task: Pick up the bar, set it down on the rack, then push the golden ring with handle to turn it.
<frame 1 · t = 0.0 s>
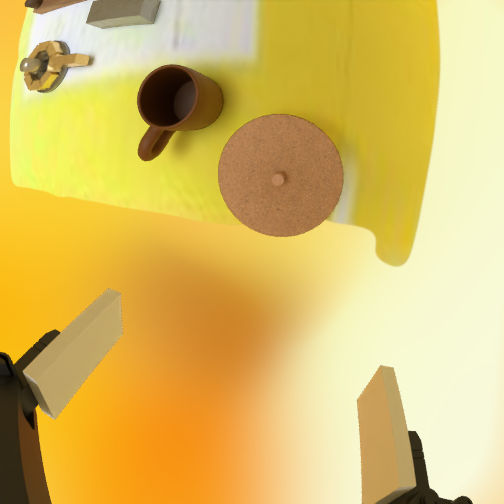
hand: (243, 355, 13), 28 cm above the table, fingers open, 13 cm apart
mug: (189, 117, 36), on the table
lidded bowl: (285, 166, 37), on the table
golden ring with handle: (51, 63, 32), point 3 cm above the table, hinge at 0.0°
nut station: (51, 66, 35), on the table
bar: (130, 15, 31), on the table
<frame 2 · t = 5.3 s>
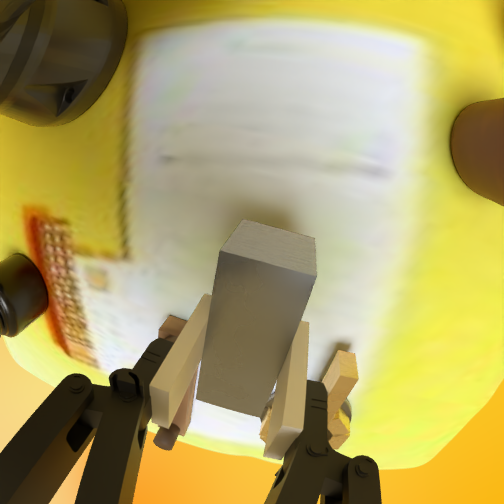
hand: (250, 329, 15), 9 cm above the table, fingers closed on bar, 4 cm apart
rack: (180, 378, 30), on the table
ink bottle: (29, 283, 31), on the table
mug: (499, 166, 17), on the table
golden ring with handle: (315, 417, 25), point 3 cm above the table, hinge at 0.0°
bar: (258, 304, 18), point 6 cm above the table, touching gripper
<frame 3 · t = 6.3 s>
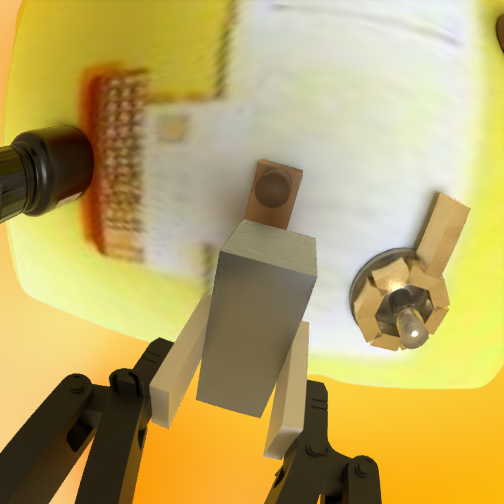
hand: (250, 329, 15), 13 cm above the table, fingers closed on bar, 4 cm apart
rack: (258, 253, 28), on the table
ink bottle: (68, 162, 28), on the table
golden ring with handle: (419, 280, 23), point 3 cm above the table, hinge at 0.0°
nut station: (397, 294, 27), on the table
bar: (258, 304, 18), point 10 cm above the table, touching gripper
when the fingers open (6 cm above the table, at t = 7.8 s): bar stays where it is, resting on rack.
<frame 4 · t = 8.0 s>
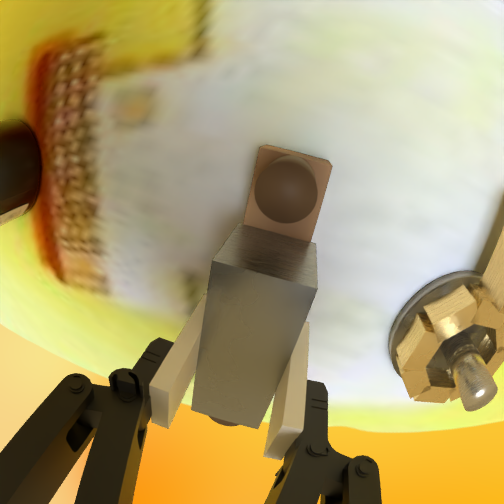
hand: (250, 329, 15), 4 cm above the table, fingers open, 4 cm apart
rack: (263, 284, 19), on the table
ink bottle: (17, 166, 19), on the table
golden ring with handle: (486, 317, 14), point 3 cm above the table, hinge at 0.0°
nut station: (449, 330, 18), on the table
bar: (256, 312, 17), point 2 cm above the table, touching gripper, rack
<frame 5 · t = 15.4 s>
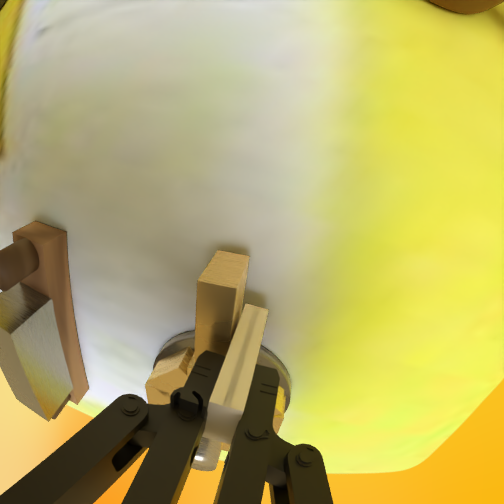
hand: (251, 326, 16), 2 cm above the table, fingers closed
rack: (60, 319, 21), on the table
golden ring with handle: (214, 383, 16), point 3 cm above the table, hinge at 5.2°, touching gripper
nut station: (221, 383, 20), on the table
bar: (45, 339, 19), point 2 cm above the table, touching rack
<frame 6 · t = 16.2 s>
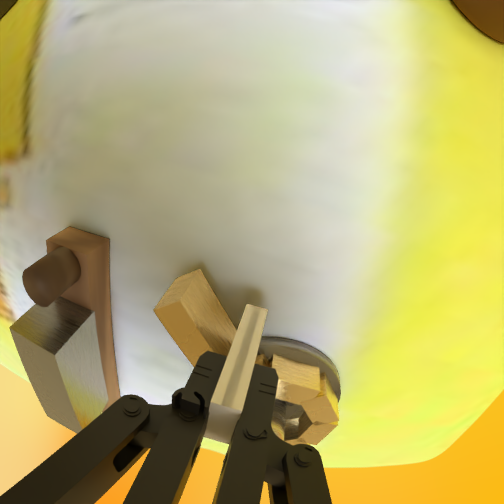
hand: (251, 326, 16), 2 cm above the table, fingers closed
rack: (94, 329, 21), on the table
golden ring with handle: (246, 389, 17), point 3 cm above the table, hinge at 38.8°, touching gripper
nut station: (271, 387, 20), on the table
bar: (80, 353, 19), point 2 cm above the table, touching rack
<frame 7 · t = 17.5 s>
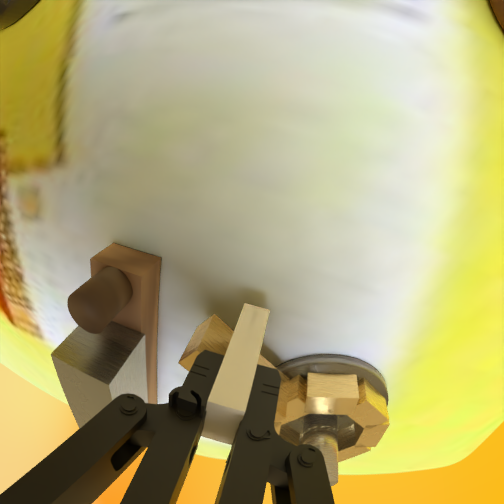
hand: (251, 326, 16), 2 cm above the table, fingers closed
rack: (136, 349, 21), on the table
golden ring with handle: (290, 411, 17), point 3 cm above the table, hinge at 56.6°, touching gripper
nut station: (320, 401, 20), on the table
bar: (122, 374, 19), point 2 cm above the table, touching rack
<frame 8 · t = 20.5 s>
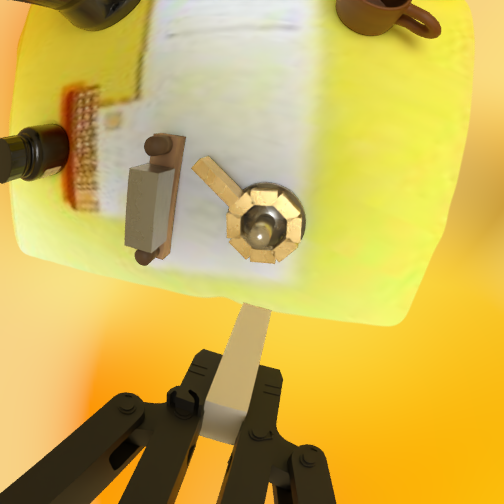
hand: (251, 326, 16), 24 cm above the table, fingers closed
rack: (165, 195, 40), on the table
ink bottle: (54, 148, 40), on the table
mug: (379, 22, 26), on the table
golden ring with handle: (245, 207, 36), point 3 cm above the table, hinge at 56.7°
nut station: (266, 220, 39), on the table
bar: (156, 202, 38), point 2 cm above the table, touching rack
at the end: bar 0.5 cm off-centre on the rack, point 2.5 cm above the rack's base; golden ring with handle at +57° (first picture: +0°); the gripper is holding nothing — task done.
